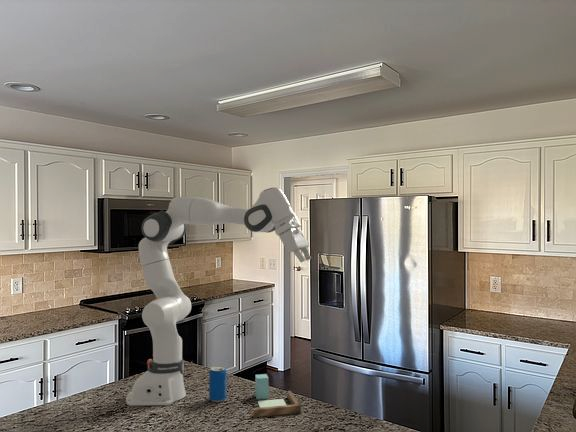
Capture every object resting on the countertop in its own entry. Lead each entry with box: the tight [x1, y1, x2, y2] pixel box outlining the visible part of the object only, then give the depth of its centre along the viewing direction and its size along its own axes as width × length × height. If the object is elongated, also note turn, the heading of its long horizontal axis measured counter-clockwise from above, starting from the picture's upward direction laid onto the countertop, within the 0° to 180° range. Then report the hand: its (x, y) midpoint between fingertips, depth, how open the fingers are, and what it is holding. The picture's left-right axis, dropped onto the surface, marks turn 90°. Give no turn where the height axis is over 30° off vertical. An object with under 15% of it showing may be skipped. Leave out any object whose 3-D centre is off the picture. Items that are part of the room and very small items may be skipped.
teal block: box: [254, 373, 270, 400], centre depth 176 cm, size 4×4×8 cm
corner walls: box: [252, 390, 302, 418], centre depth 166 cm, size 17×15×2 cm
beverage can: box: [208, 365, 227, 403], centre depth 173 cm, size 6×6×12 cm
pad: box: [257, 398, 287, 408], centre depth 167 cm, size 10×10×1 cm
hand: (306, 260), depth 163 cm, fingers open, 8 cm apart
